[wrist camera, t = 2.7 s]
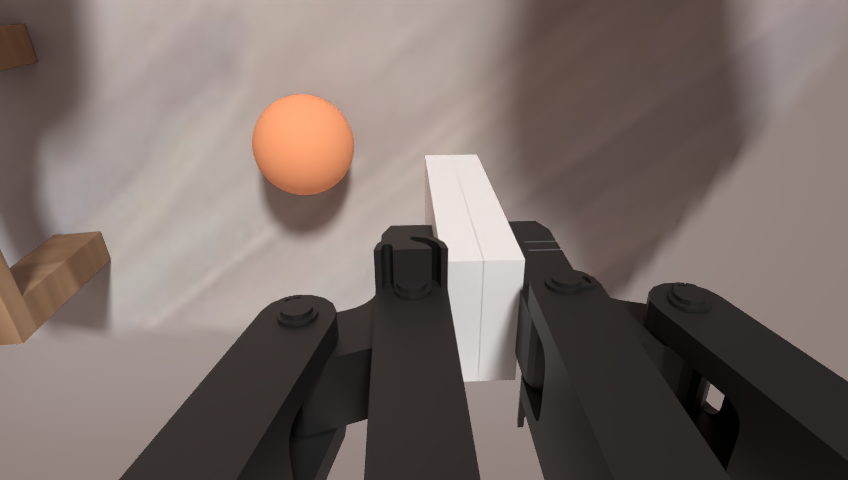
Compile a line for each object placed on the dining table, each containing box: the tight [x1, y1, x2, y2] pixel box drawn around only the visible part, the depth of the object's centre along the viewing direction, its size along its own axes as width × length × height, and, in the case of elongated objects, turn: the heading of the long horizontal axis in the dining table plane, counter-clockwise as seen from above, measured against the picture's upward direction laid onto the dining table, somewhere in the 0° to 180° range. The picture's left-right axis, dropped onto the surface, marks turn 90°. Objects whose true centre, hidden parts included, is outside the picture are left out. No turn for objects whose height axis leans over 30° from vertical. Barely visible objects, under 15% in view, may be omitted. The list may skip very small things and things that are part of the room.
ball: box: [252, 94, 354, 195], centre depth 30 cm, size 6×6×6 cm
